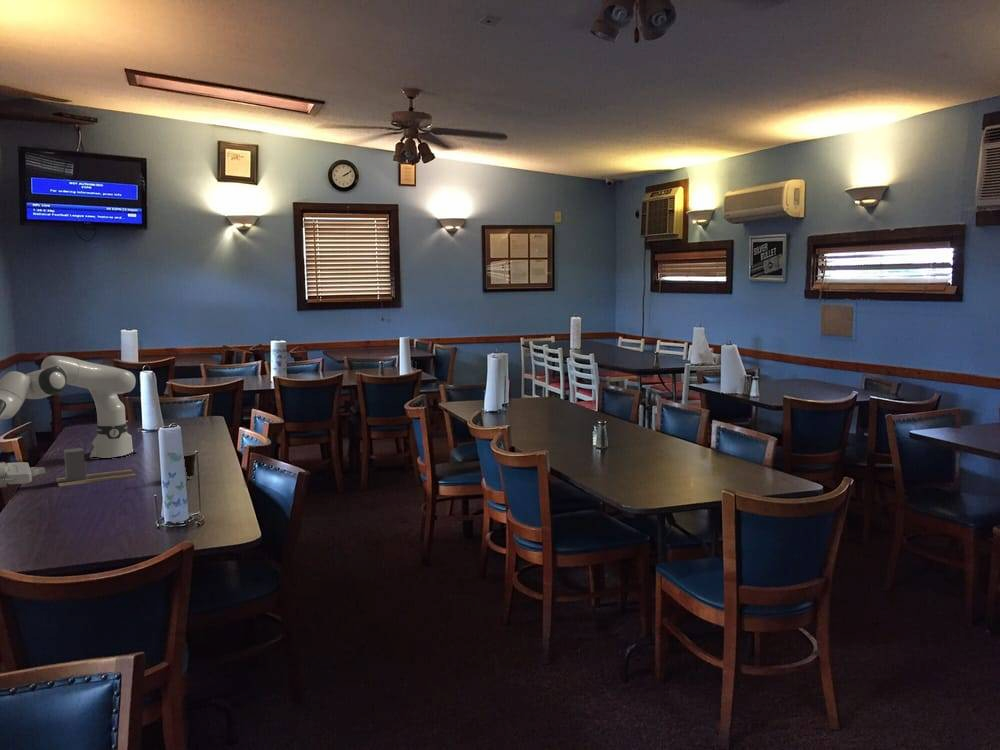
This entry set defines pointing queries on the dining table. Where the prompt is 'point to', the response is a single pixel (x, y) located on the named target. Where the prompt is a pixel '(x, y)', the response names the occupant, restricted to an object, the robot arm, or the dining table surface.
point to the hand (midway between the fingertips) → (44, 470)
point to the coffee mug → (189, 462)
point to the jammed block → (74, 464)
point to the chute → (98, 478)
